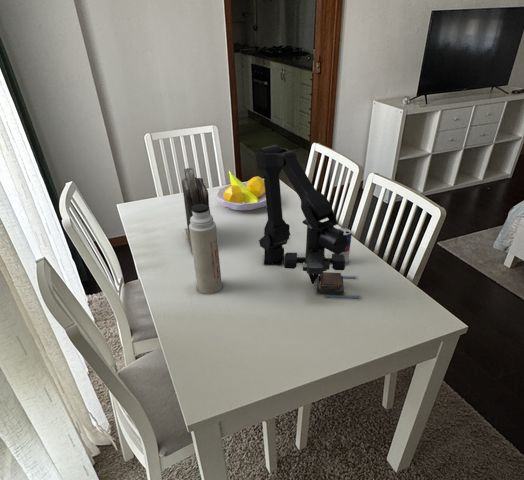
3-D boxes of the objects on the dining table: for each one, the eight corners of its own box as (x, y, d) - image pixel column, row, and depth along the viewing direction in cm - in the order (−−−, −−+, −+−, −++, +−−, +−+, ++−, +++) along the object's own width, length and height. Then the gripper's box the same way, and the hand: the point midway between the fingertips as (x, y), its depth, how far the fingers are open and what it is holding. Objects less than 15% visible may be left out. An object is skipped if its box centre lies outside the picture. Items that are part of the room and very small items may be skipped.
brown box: (316, 294, 130) (317, 280, 126) (315, 279, 137) (316, 265, 133) (343, 295, 129) (345, 281, 126) (341, 280, 136) (343, 266, 133)
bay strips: (326, 297, 128) (326, 297, 128) (324, 276, 138) (324, 276, 138) (358, 298, 128) (358, 297, 128) (354, 277, 137) (354, 276, 137)
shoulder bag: (184, 229, 170) (174, 160, 153) (206, 225, 172) (198, 158, 155) (193, 254, 152) (182, 181, 136) (217, 250, 154) (209, 177, 138)
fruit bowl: (281, 212, 181) (281, 187, 174) (220, 219, 176) (218, 194, 170) (267, 189, 203) (266, 167, 196) (213, 195, 199) (210, 172, 192)
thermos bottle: (226, 284, 136) (219, 204, 119) (211, 296, 130) (202, 214, 114) (207, 277, 139) (198, 199, 123) (192, 289, 134) (180, 208, 117)
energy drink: (348, 266, 143) (351, 235, 136) (332, 265, 144) (335, 234, 137) (348, 258, 147) (352, 228, 140) (333, 257, 148) (336, 227, 141)
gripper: (283, 252, 118) (282, 296, 127) (349, 255, 116) (343, 299, 126) (285, 235, 127) (284, 277, 136) (346, 237, 125) (341, 279, 134)
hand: (312, 283), depth 133 cm, fingers closed
